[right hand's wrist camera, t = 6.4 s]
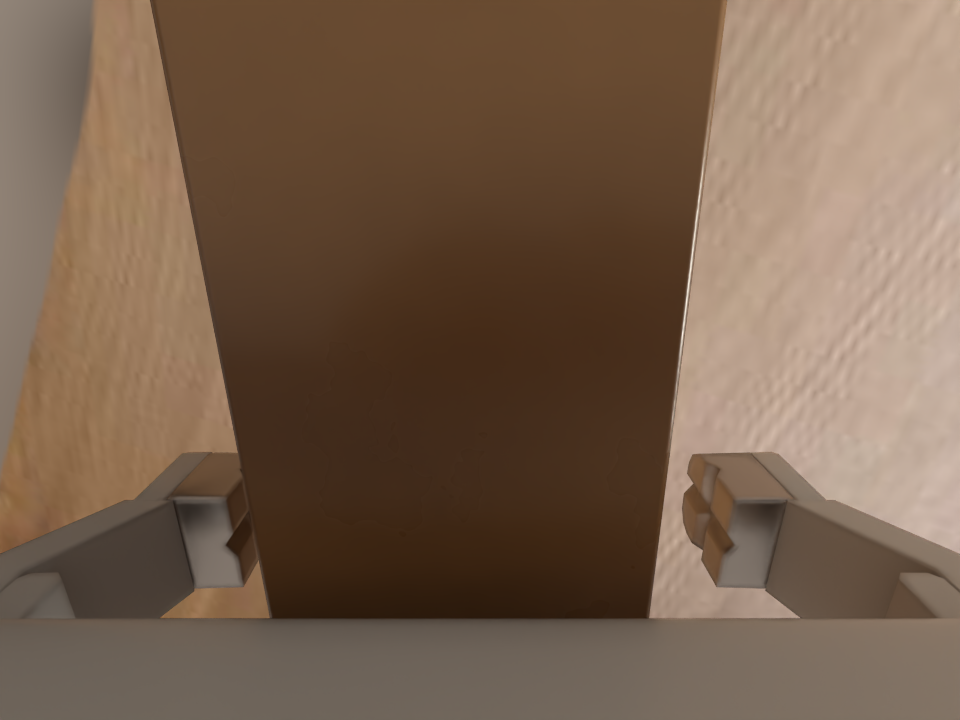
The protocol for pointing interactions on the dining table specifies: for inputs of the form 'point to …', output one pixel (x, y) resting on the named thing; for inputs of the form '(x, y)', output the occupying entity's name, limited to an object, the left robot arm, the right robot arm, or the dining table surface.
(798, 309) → the dining table surface
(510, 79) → the bar
